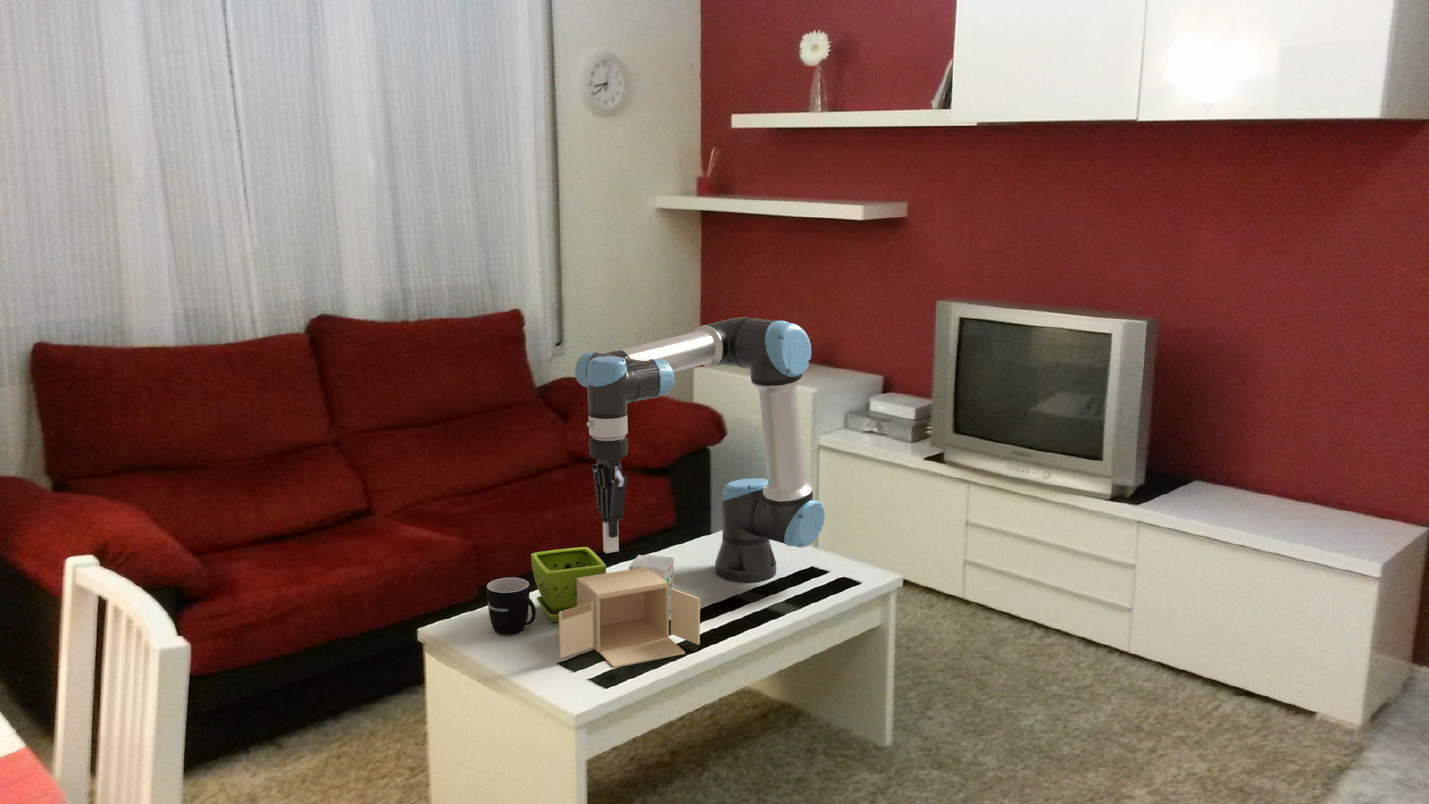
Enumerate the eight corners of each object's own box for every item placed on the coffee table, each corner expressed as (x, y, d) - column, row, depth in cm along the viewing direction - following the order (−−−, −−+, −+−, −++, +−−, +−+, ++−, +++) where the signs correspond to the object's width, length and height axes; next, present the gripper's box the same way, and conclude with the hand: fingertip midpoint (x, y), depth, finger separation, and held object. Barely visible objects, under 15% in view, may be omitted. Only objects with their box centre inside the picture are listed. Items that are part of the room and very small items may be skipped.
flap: (561, 658, 225) (560, 612, 223) (559, 657, 225) (558, 611, 223) (593, 647, 230) (592, 602, 228) (592, 646, 230) (591, 602, 228)
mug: (479, 631, 241) (477, 586, 239) (508, 618, 248) (507, 574, 246) (521, 644, 234) (519, 598, 232) (549, 630, 242) (548, 585, 240)
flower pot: (546, 628, 243) (545, 572, 240) (530, 606, 255) (528, 552, 253) (608, 619, 248) (608, 564, 246) (589, 597, 261) (589, 544, 258)
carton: (660, 616, 250) (660, 562, 248) (700, 650, 232) (701, 593, 230) (577, 631, 241) (576, 576, 239) (612, 668, 224) (612, 609, 221)
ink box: (665, 619, 248) (665, 569, 246) (627, 616, 250) (627, 566, 248) (674, 605, 257) (674, 556, 254) (638, 602, 258) (637, 553, 256)
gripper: (578, 431, 224) (581, 544, 229) (602, 445, 213) (605, 564, 218) (613, 427, 228) (615, 538, 233) (639, 441, 216) (641, 557, 221)
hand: (611, 550), depth 225 cm, fingers closed
